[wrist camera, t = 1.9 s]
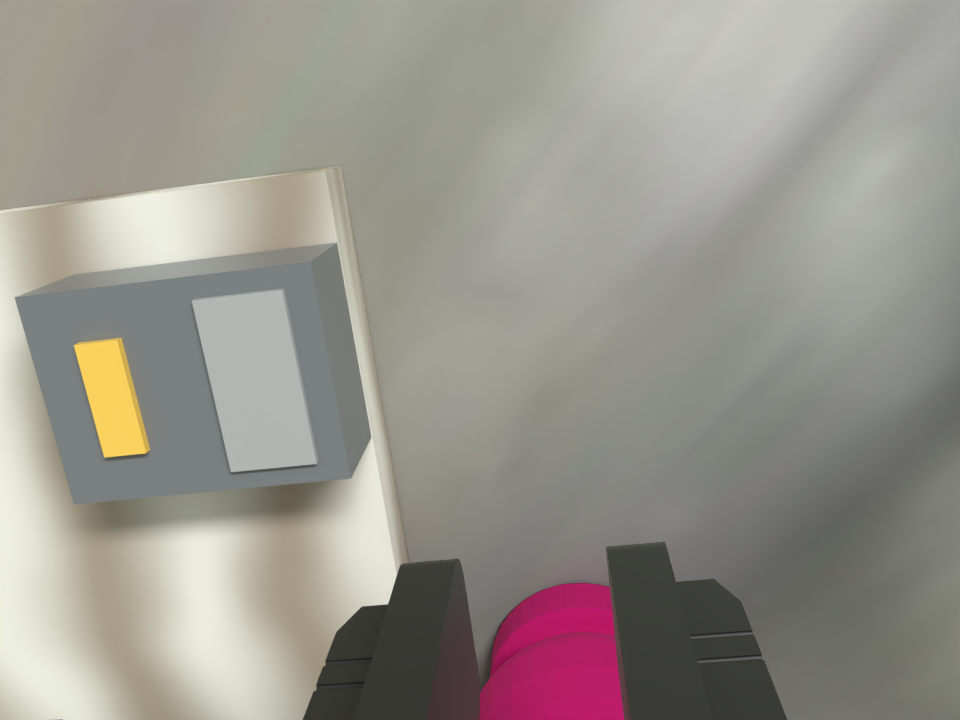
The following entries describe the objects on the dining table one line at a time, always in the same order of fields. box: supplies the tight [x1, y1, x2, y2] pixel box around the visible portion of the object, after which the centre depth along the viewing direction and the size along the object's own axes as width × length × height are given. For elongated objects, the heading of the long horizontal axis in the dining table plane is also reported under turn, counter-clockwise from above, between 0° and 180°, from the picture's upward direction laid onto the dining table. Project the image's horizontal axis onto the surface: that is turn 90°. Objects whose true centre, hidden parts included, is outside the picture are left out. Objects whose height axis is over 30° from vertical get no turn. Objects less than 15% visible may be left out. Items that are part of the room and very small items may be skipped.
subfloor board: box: [0, 166, 409, 720], centre depth 30 cm, size 18×23×2 cm
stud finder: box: [14, 243, 371, 504], centre depth 25 cm, size 8×6×3 cm
